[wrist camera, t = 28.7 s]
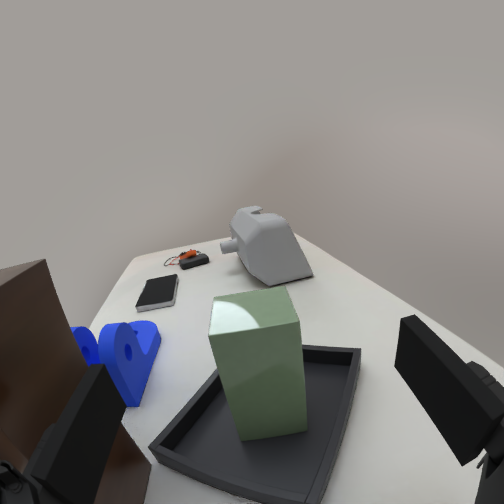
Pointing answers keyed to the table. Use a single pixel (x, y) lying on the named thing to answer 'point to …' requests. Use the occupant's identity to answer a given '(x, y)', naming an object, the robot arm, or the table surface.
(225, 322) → the green block
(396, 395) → the table surface
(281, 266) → the tank
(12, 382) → the stand
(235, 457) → the tray
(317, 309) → the table surface
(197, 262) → the multimeter
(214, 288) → the table surface
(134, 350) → the bracket
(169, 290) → the smartphone
